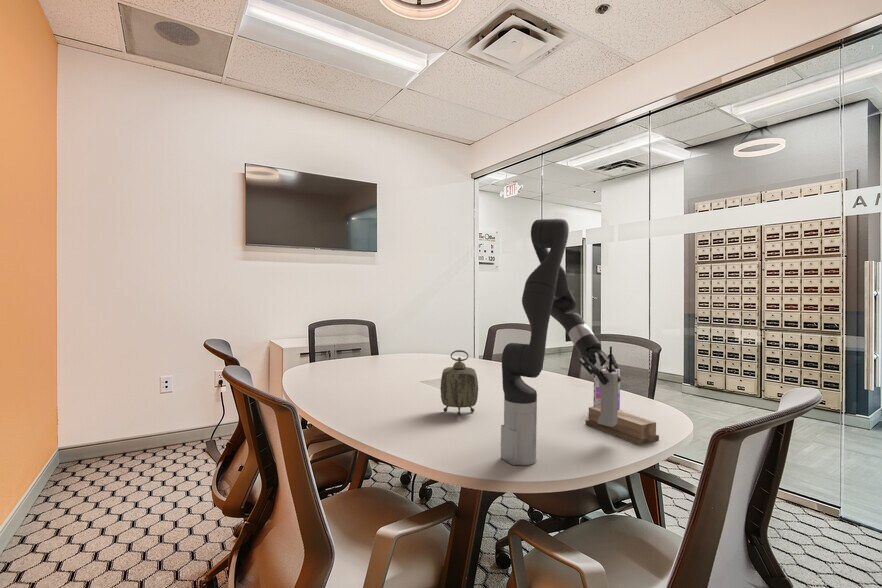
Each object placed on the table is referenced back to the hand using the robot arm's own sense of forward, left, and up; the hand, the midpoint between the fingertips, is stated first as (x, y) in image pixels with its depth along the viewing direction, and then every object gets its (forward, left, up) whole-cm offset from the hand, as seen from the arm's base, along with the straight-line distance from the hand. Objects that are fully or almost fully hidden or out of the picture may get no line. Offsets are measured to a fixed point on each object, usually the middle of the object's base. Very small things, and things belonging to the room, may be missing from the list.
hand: (612, 382), depth 131 cm
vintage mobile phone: (0, +2, -14) cm, 14 cm away
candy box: (+29, +28, -20) cm, 45 cm away
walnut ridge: (+13, +8, -20) cm, 25 cm away
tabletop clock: (-28, +49, -20) cm, 60 cm away
